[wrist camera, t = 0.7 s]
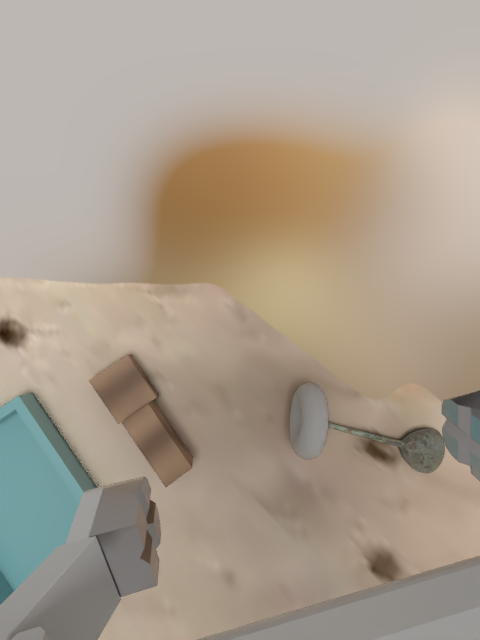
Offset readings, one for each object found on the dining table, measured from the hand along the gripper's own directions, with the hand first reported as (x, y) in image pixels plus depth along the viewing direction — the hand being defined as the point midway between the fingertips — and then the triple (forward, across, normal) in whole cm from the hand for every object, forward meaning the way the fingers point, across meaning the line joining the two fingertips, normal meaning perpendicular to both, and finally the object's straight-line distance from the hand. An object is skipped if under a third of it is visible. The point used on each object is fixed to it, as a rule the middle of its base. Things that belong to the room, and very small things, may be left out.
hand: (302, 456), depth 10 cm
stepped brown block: (+40, -13, -20) cm, 47 cm away
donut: (+39, +8, -25) cm, 47 cm away
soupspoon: (+38, +19, -31) cm, 53 cm away
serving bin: (+37, -30, -27) cm, 55 cm away
